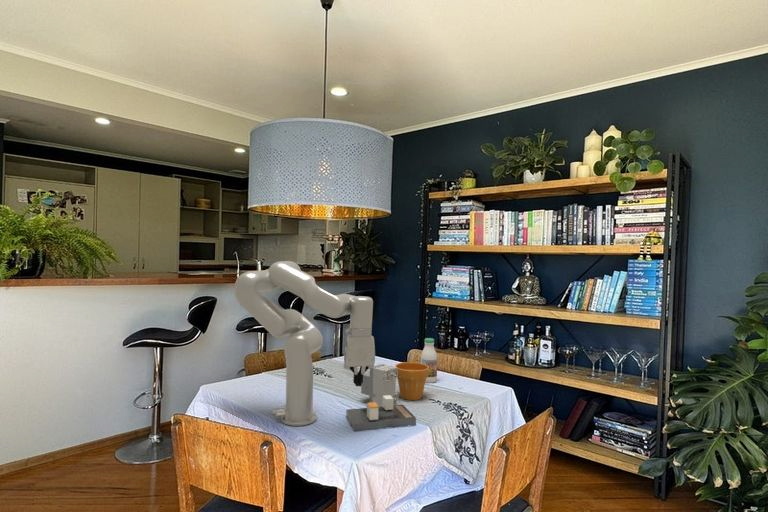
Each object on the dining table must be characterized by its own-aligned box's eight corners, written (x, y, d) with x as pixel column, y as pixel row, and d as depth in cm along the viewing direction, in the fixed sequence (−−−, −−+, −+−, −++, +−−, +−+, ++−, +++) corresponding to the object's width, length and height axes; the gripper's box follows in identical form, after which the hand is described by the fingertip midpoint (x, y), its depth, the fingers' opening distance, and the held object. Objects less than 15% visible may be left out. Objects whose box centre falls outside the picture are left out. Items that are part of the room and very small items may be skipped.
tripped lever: (369, 420, 152) (369, 406, 152) (366, 415, 156) (366, 402, 156) (378, 419, 153) (378, 406, 153) (375, 415, 157) (375, 402, 157)
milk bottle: (417, 380, 211) (417, 338, 211) (429, 377, 215) (429, 336, 215) (428, 384, 205) (428, 341, 204) (440, 381, 209) (441, 339, 209)
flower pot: (423, 391, 194) (424, 361, 194) (432, 402, 180) (432, 370, 180) (391, 392, 192) (392, 362, 192) (398, 403, 178) (398, 371, 178)
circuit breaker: (370, 397, 185) (370, 361, 185) (397, 404, 176) (397, 367, 176) (357, 401, 180) (358, 364, 179) (385, 409, 170) (385, 371, 170)
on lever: (385, 410, 162) (385, 399, 162) (382, 406, 166) (382, 395, 166) (393, 409, 163) (393, 398, 163) (390, 405, 167) (390, 395, 167)
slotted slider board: (354, 431, 150) (354, 423, 150) (346, 416, 163) (346, 409, 163) (415, 425, 156) (416, 417, 156) (402, 411, 169) (403, 404, 169)
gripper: (341, 334, 147) (338, 389, 147) (384, 334, 152) (381, 387, 152) (337, 330, 154) (334, 382, 155) (378, 330, 159) (375, 381, 159)
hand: (357, 385), depth 153 cm, fingers closed
